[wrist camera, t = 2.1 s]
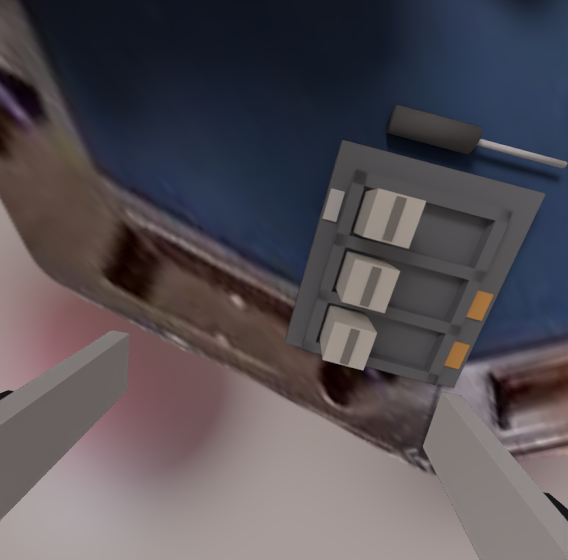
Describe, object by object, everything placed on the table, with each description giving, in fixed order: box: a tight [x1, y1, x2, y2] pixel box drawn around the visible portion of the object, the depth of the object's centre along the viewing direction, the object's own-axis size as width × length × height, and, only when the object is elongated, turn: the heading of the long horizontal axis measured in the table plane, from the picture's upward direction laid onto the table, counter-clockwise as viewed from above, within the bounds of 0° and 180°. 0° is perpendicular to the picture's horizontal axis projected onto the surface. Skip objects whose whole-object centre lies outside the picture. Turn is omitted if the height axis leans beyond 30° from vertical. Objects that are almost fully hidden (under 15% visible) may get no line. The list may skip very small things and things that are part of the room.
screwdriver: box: [386, 105, 567, 168], centre depth 27 cm, size 17×2×2 cm, turn 76°
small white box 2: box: [353, 188, 426, 249], centre depth 26 cm, size 4×4×5 cm
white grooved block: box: [335, 251, 400, 313], centre depth 27 cm, size 4×4×5 cm
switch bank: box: [285, 140, 545, 388], centre depth 30 cm, size 20×22×3 cm
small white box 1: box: [320, 304, 377, 370], centre depth 29 cm, size 4×4×5 cm
